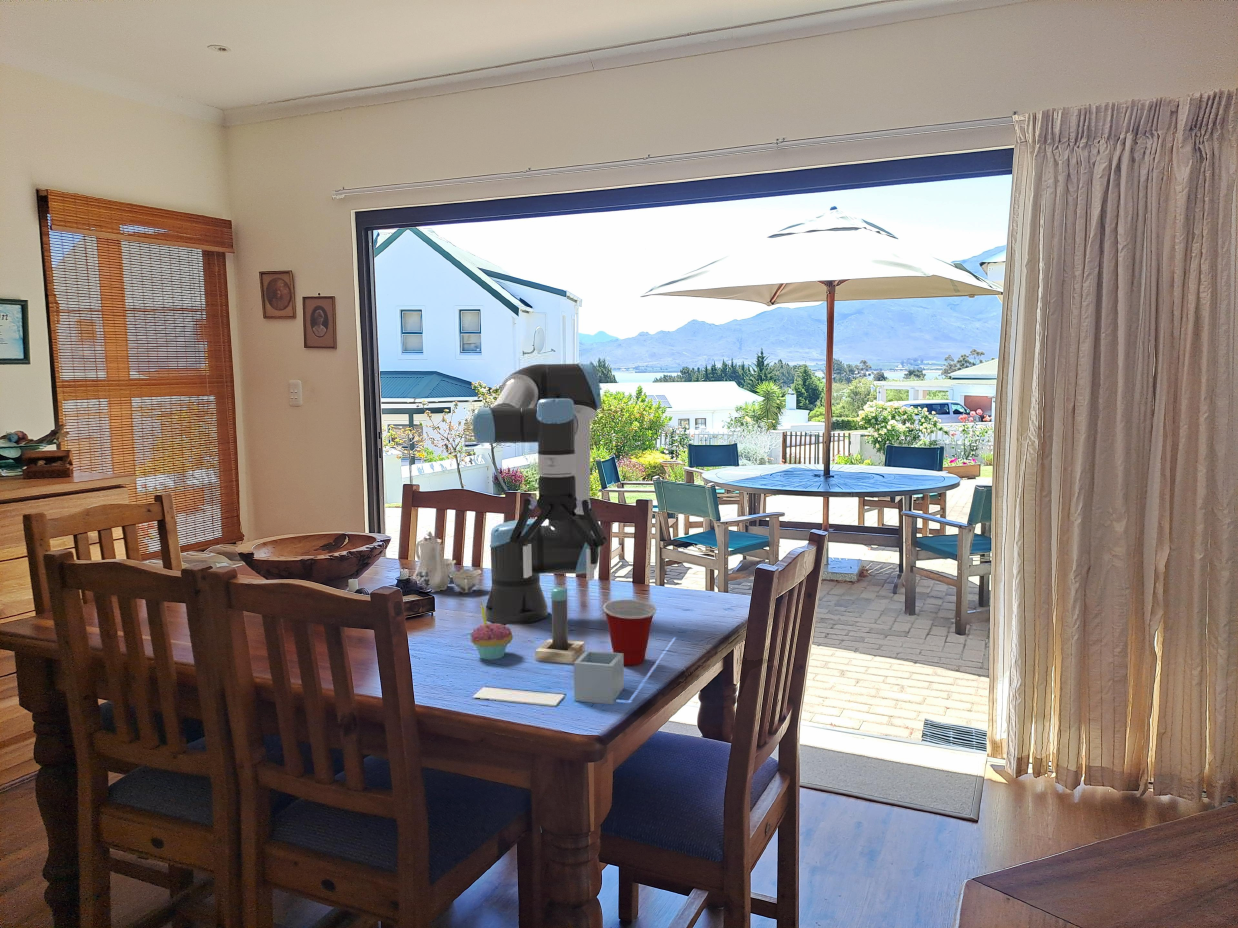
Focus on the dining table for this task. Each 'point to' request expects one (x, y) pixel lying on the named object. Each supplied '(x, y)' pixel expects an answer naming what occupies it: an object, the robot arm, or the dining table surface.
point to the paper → (519, 696)
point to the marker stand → (560, 652)
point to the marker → (559, 618)
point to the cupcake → (491, 638)
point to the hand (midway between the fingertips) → (558, 578)
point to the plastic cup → (629, 628)
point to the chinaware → (440, 568)
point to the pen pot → (598, 677)
